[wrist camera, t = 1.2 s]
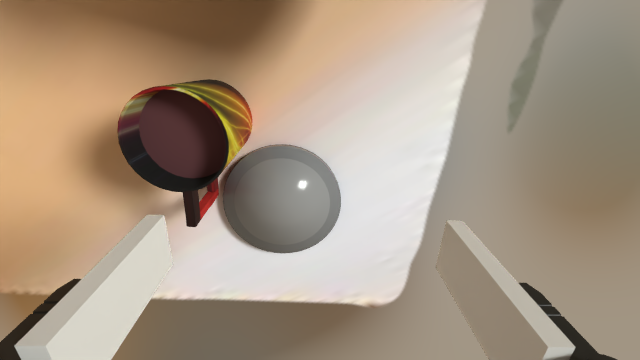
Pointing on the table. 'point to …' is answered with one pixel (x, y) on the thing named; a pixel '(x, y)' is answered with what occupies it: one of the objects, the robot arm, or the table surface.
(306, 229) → the plate
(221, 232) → the table surface
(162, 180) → the mug
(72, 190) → the table surface
